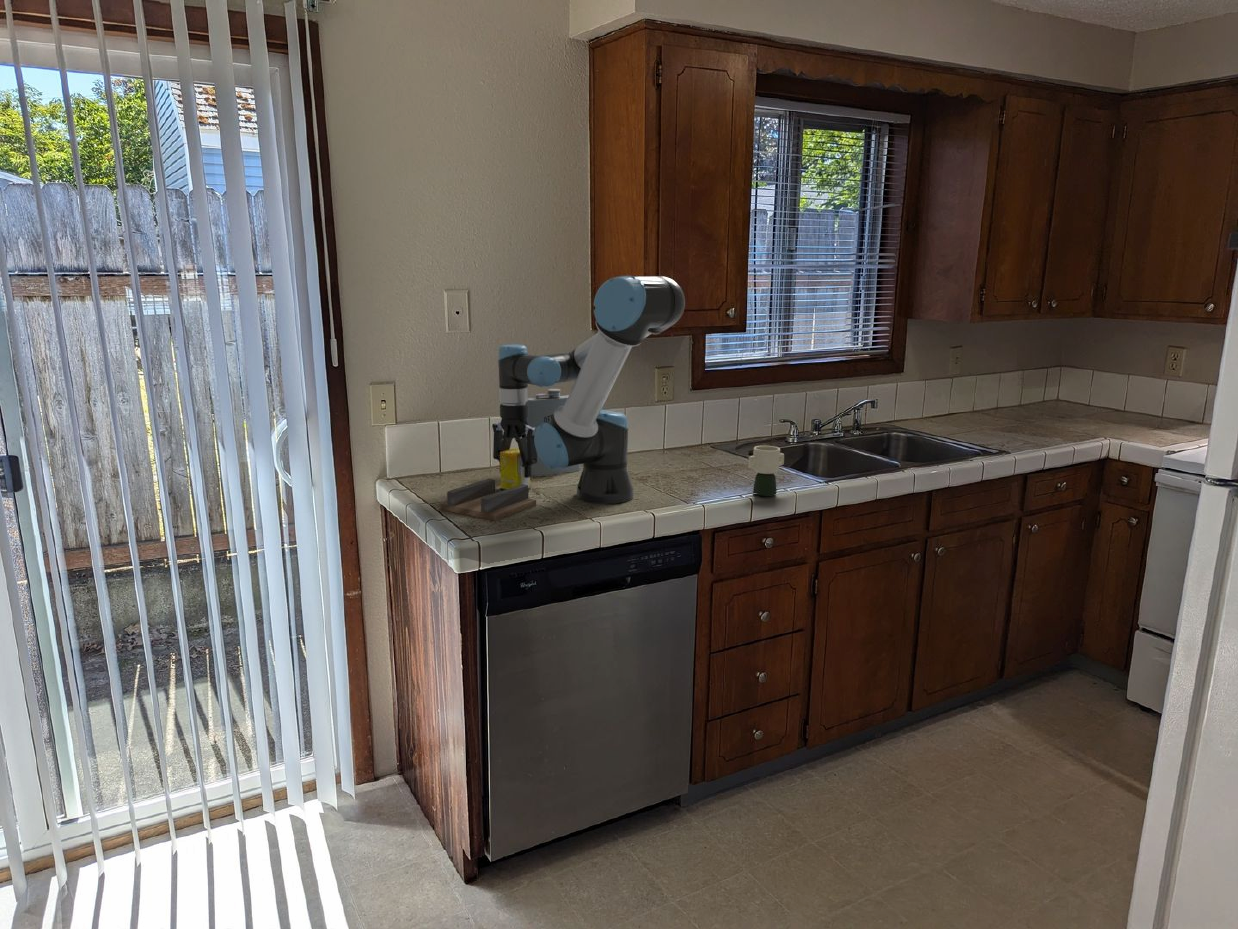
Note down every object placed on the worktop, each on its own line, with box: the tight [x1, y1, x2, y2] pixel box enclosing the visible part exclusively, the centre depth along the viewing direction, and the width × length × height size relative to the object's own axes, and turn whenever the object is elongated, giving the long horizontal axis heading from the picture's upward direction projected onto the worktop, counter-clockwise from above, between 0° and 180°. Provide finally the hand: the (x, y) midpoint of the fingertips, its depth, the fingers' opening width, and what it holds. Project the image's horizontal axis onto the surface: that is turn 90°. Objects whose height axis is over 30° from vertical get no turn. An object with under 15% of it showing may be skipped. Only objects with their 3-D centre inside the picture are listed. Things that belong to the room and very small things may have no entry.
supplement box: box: [499, 447, 531, 492], centre depth 234 cm, size 6×6×11 cm
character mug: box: [748, 445, 785, 497], centre depth 230 cm, size 11×7×13 cm, turn 112°
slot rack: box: [439, 478, 537, 522], centre depth 218 cm, size 18×16×5 cm
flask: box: [525, 388, 582, 477], centre depth 252 cm, size 17×5×25 cm, turn 121°
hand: (515, 486), depth 235 cm, fingers closed on supplement box, 6 cm apart
